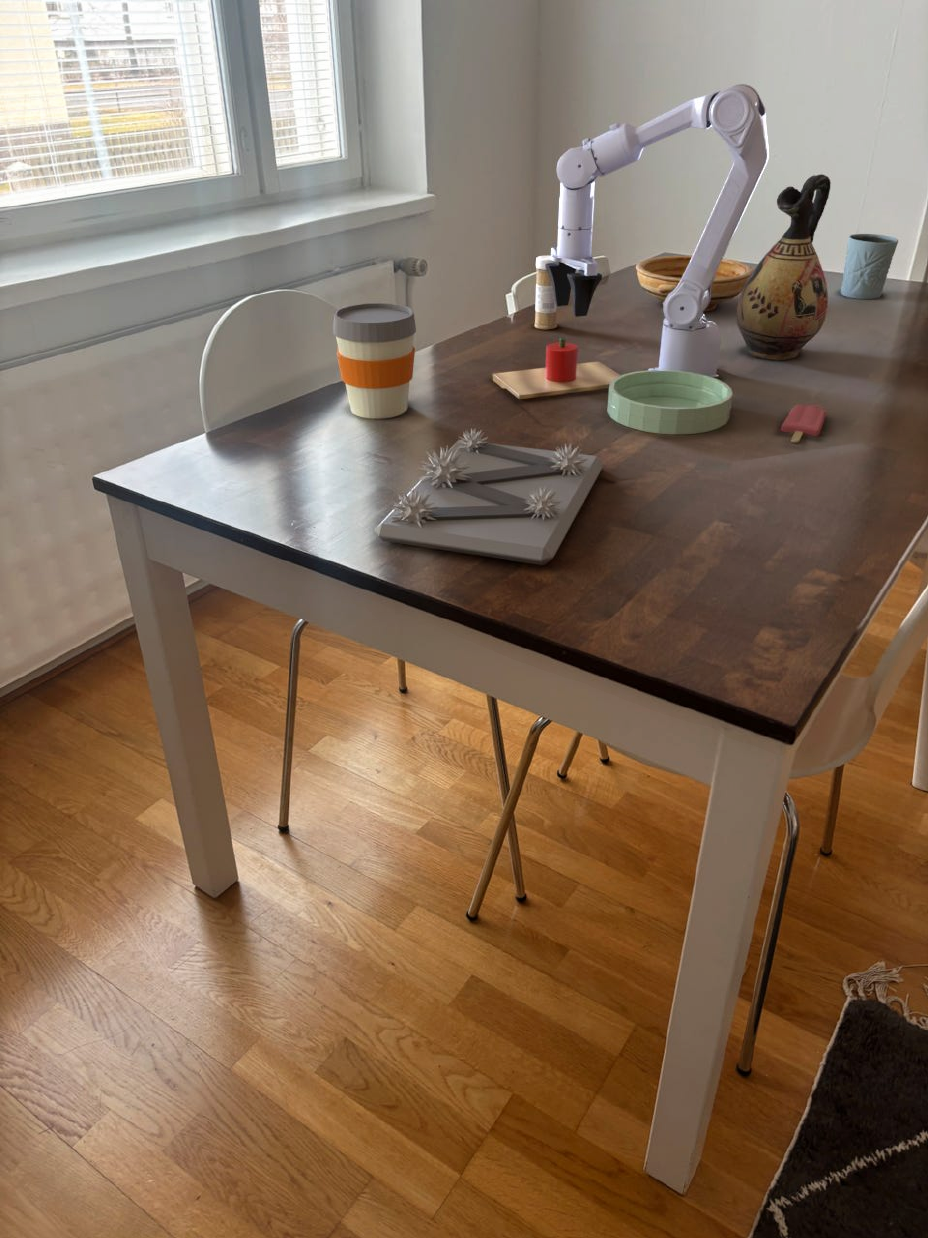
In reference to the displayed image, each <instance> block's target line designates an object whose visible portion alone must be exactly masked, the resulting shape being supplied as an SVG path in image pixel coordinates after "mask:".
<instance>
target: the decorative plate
mask: <svg viewBox="0 0 928 1238" xmlns="http://www.w3.org/2000/svg"><path fill="white" fill-rule="evenodd" d="M464 431H465V432H464ZM464 431H462V433H463V434H462V436H463V437H461V436H458V438H459V439H458V440H456V442H455V443H454V444H453V445H452V446H450V448H449V446H448V444H446V449H445V447H444V446H443V448H442V447H440V453H439V455H438V454H437V452H436V451H435V450H434V449H433V450H430V452H431V454H432V455H431V454H430V453H429V452H428V451H427V450H426V453H427V455H428V456H427V458H428V460H429V461H430V462H428V461H423V460H420V462H421V463H423V464H421V467H420V466H419V467H417V468H418V469H420V470H423V471H425V472H427V473H426V474H424V475H422V476H420V477H418V478H417V479H418V480H419V479H420V480H419V481H418V482H417V483H416V484H415V486H413V487H412V488H410V490H409V492H408V493H407V494H406V493H405V492H404V491H403V490H400V491H401V494H402V495H400V493H398V492H396V493H397V496H398V498H399V500H400V502H396V501H392V500H390V502H391V503H393V504H392V507H391V506H389V507H388V508H389V509H392V510H391V511H390V512H389V513H388V515H387V516H385V517H384V518H383V520H382V521H381V522H380V523H379V524H378V525H377V526H376V527H375V528H374V530H373V533H375V535H377V537H379V539H380V540H382V541H384V542H389V543H396V544H402V545H409V546H415V547H422V548H428V549H434V550H441V551H446V552H447V551H448V552H454V553H461V554H466V555H467V554H468V555H474V556H481V557H486V558H493V559H501V560H506V561H512V562H519V563H520V562H521V563H526V564H533V565H539V566H544V565H546V564H547V563H548V562H550V561H552V560H553V559H554V557H555V556H556V554H557V552H558V550H559V548H560V546H561V545H562V543H563V540H564V539H565V537H566V535H567V533H568V531H569V530H570V528H571V526H572V524H573V522H574V521H575V519H576V517H577V515H578V513H579V512H580V510H581V508H582V506H583V505H584V502H585V500H586V499H587V497H588V495H589V493H590V491H591V490H592V488H593V486H594V484H595V482H596V481H597V479H598V477H599V475H600V473H601V471H602V470H603V468H604V465H605V463H604V462H603V461H602V460H601V458H599V457H598V456H597V455H590V454H583V453H581V452H582V450H583V448H580V449H579V447H580V445H578V446H576V447H574V449H573V450H572V443H569V444H568V447H567V444H566V443H564V448H563V446H562V445H561V446H560V447H561V448H560V447H559V446H558V445H557V446H556V447H554V448H555V450H549V449H541V448H534V447H524V446H518V445H517V446H515V445H508V444H500V443H499V444H498V443H491V442H489V440H487V439H489V437H488V436H487V437H483V436H484V433H485V431H483V429H481V430H480V431H479V430H478V431H477V429H476V426H475V428H470V432H469V431H468V430H464ZM482 431H483V432H482ZM482 437H483V438H482ZM578 449H579V450H578Z"/></svg>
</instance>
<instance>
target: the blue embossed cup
mask: <svg viewBox="0 0 928 1238" xmlns="http://www.w3.org/2000/svg"><path fill="white" fill-rule="evenodd" d="M898 245H899V239H898V238H896V237H893V236H889V235H885V234H876V233H855V234H850V235H848V240H847V248H846V256H845V260H844V261H845V262H844V267H843V272H842V273H843V274H842V283H841V288H840V294H841V295H842V296H844V297H847V298H850V299H858V300H874V299H879V298H880V297H881V296H882V294H883V290H884V288H885V283H886V279H887V278H888V274H889V270H890V268H891V265H892V263H893V262H892V261H893V257H894V256H895V253H896V250H897V246H898Z"/></svg>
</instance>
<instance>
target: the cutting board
mask: <svg viewBox="0 0 928 1238" xmlns="http://www.w3.org/2000/svg"><path fill="white" fill-rule="evenodd" d="M545 370H546V367H539V368H530V369H521V370H514V371H513V370H512V371H504V372H497V373H492V381H493V382H494V383H495V384H496V385H498V386H499V387H500V388H501V389H506V390H507V391H509V392H510V393H511V394H512V395H513V396H515V397H516V398H517V399H519V400H524V399H525V400H526V399H531V398H532V399H533V398H540V397H548V396H557V395H564V394H565V395H566V394H571V393H572V394H573V393H580V392H588V391H589V392H590V391H596V390H604V389H605V390H606V389H609V385H610V382H611V381H613V380H614V379H615V378H617V377H619V376H621V375H622V374H619V373H618V372H616V371H614V370H613V369H611V368H610V367H609V366H607V365H605V364H604V363H602V362H600V361H591V362H582V363H577V373H576V379H575V380H573V381H570V382H553V381H549V380H547V379H546V378H545Z"/></svg>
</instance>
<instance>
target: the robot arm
mask: <svg viewBox="0 0 928 1238" xmlns="http://www.w3.org/2000/svg"><path fill="white" fill-rule="evenodd" d="M689 128H693V129H701V130H708V129H710V128H713V130H714V131H715V132H716V133H717V135H718V136H719V137H720V138H721V139H722V140H723V141H724V142H725V144H726V147H727V149H728V152H729V154H730V157H731V159H732V163H733V164H732V166H731V169H730V171H729V172H728V174H727V177H726V180H725V182H724V184H723V186H722V189H721V191H720V193H719V195H718V198H717V200H716V202H715V204H714V206H713V209H712V211H711V214H710V216H709V217H708V220H707V222H706V224H705V228H704V229H703V231H702V233H701V236H700V238H699V241H698V243H697V244H696V247H695V250H694V251H693V254H692V255H691V256H692V258H691V261H690V263H689V265H688V267H687V269H686V270H685V272H684V274H683V276H682V278H681V280H680V282H679V283H678V285H677V286H676V288H675V289H674V290H673V291H672V292H671V293H670V294H669V295H668V296H667V298H666V299H665V302H664V305H663V308H662V310H663V315H664V317H665V318H664V319H663V321H662V333H661V340H660V341H661V342H660V351H659V361H658V367H650V368H648V370H677V371H685V372H693V373H697V374H702V375H706V376H710V377H712V378H716V377H717V378H718V377H719V375H718V374H717V370H718V364H719V357H720V351H721V341H722V339H721V337H722V336H721V331H720V328H719V326H718V325H717V323H715V322H714V321H708V319H707V317H706V315H705V313H704V312H705V311H704V310H705V309H706V308H707V306H708V305H709V303H710V300H711V286H712V283H713V281H714V278H715V276H716V273H717V270H718V268H719V265H720V263H721V261H722V259H724V257H725V254H726V253H727V251H728V248H729V246H730V244H731V242H732V239H733V237H734V235H735V233H736V231H737V229H738V227H739V225H740V223H741V220H742V218H743V216H744V213H745V211H746V210H747V207H748V205H749V203H750V201H751V199H752V196H753V195H754V192H755V190H756V188H757V186H758V183H759V181H760V179H761V177H762V174H763V173H764V170H765V168H766V166H767V164H768V162H769V158H770V148H769V138H768V128H767V109H766V107H765V105H764V102H763V101H762V99H761V97H760V94H759V92H758V91H757V90H756V88H754V87H753V86H751V85H749V84H747V83H739V84H735V85H732V86H730V87H728V88H724V89H722V90H718V91H715V92H714V91H713V92H711V93H708V94H705V95H701V96H698V97H695V98H692V99H690V100H688V101H686V102H684V103H682V104H680V105H678V106H676V107H674V108H673V109H671V110H669V111H667V112H665V113H662V114H661V115H659V116H656V117H655V118H653V119H651V120H650V121H648V122H644V123H643V124H642V125H639V126H635V125H632V124H630V123H627V122H624V123H623V124H620V122H616V123H613V124H611V125H610V126H609V129H610V130H608V131H606V132H604V133H602V134H600V135H599V136H596V137H594V138H592V139H591V138H590V137H588V138H585V139H583V140H582V146H577V147H571V148H568V150H566V151H565V152H564V153H563V154H562V155H561V156H560V158H559V159H558V161H557V163H556V176H557V179H558V181H559V182H560V187H559V189H560V190H559V192H560V193H559V197H558V198H559V199H558V223H557V226H558V227H557V246H555V247H553V246H552V247H551V248H550V256H551V260H552V261H553V263H547V264H545V267H546V269H547V271H548V274H549V276H550V279H551V283H552V287H553V292H554V298H555V303H556V306H557V307H564V306H569V303H570V299H571V295H572V311H573V312H572V313H573V316H574V317H576V318H579V317H587V315H588V313H589V309H590V307H591V306H590V305H591V302H592V299H593V297H594V294H595V292H596V289H597V288H598V286H599V284H600V283H601V281H602V280H603V274H601V273H600V272H598V271H599V262H596V260H595V258H594V256H593V255H592V245H593V228H594V213H595V212H594V211H595V210H594V209H595V184H596V182H595V181H596V179H597V178H598V177H600V178H603V177H606V176H608V175H609V174H612V173H613V172H616V171H618V170H620V169H623V168H625V167H627V166H629V165H631V164H633V163H635V162H638V161H639V159H640V158H641V155H642V152H643V150H644V149H645V148H646V147H648V146H650V145H653V144H655V143H657V142H660V141H663V140H664V139H666V138H668V137H671V136H673V135H676V134H677V133H680V132H682V131H684V130H686V129H689ZM577 271H578V272H577ZM703 311H704V312H703Z"/></svg>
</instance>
